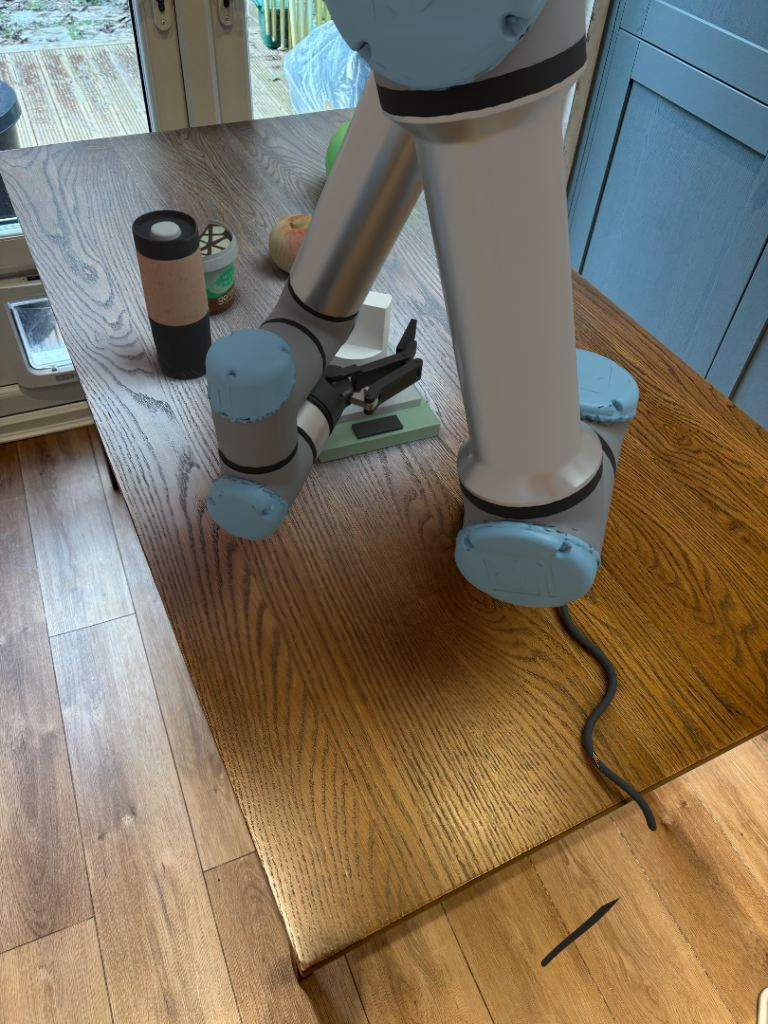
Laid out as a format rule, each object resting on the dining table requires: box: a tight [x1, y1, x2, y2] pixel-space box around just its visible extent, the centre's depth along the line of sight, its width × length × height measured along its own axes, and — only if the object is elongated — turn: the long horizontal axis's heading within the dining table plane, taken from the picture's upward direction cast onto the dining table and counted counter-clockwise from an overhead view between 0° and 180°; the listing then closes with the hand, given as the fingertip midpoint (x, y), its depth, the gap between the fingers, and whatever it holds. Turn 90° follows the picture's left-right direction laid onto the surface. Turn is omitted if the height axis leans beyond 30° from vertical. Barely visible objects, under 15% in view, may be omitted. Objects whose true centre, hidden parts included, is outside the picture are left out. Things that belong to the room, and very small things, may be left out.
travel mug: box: [131, 209, 213, 380], centre depth 95 cm, size 8×8×20 cm
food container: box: [199, 217, 240, 317], centre depth 109 cm, size 12×6×10 cm, turn 168°
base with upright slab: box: [329, 290, 393, 392], centre depth 93 cm, size 9×9×12 cm
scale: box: [317, 344, 441, 464], centre depth 99 cm, size 20×16×3 cm
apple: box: [268, 213, 313, 274], centre depth 117 cm, size 9×9×8 cm
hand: (361, 315), depth 95 cm, fingers open, 13 cm apart
